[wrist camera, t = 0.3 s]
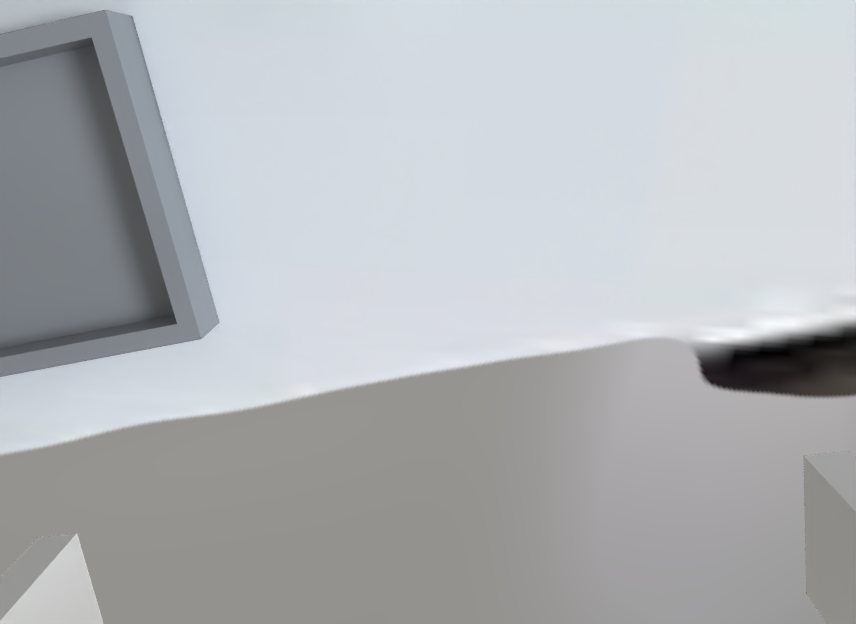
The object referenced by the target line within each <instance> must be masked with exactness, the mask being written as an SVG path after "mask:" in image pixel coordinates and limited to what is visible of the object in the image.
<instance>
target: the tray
mask: <svg viewBox="0 0 856 624" xmlns="http://www.w3.org/2000/svg"><path fill="white" fill-rule="evenodd" d="M218 323H219V320H218V316H217V313H216V309H215V306H214V302H213V299H212V295H211V292H210V288H209V285H208V281H207V278H206V274H205V270H204V267H203V263H202V260H201V256H200V253H199V249H198V246H197V242H196V239H195V235H194V232H193V228H192V225H191V221H190V218H189V214H188V211H187V207H186V204H185V200H184V196H183V193H182V189H181V186H180V182H179V179H178V175H177V172H176V168H175V165H174V161H173V158H172V154H171V151H170V147H169V144H168V140H167V137H166V133H165V130H164V126H163V122H162V119H161V115H160V112H159V108H158V105H157V101H156V98H155V94H154V91H153V87H152V84H151V80H150V77H149V73H148V70H147V66H146V63H145V59H144V56H143V52H142V48H141V45H140V41H139V38H138V34H137V31H136V27H135V24H134V20H133V17H132V16H129V15H125V14H121V13H117V12H113V11H108V10H102V11H98V12H94V13H90V14H85V15H81V16H77V17H72V18H68V19H64V20H60V21H55V22H51V23H47V24H43V25H38V26H34V27H30V28H25V29H21V30H17V31H13V32H8V33H4V34H0V377H2V376H8V375H13V374H18V373H24V372H29V371H34V370H39V369H45V368H50V367H55V366H61V365H66V364H71V363H77V362H82V361H87V360H93V359H98V358H103V357H109V356H114V355H119V354H125V353H130V352H135V351H140V350H146V349H151V348H156V347H162V346H167V345H172V344H178V343H183V342H188V341H194V340H199V339H202V338H203V337H204V336H205V335H206V334H207V333H209V332H210V331H211V330H212V329H213V328H214V327H215V326H216V325H217V324H218Z"/></svg>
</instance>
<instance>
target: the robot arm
mask: <svg viewBox="0 0 856 624" xmlns="http://www.w3.org/2000/svg"><path fill="white" fill-rule="evenodd" d="M804 506H805V559H806V560H805V561H806V594H807V596H808V597H809V598H810V600H811V601H812V603H813V604H814V606H815V607H816V609H817V610H818V612H819V613H820V615H821V616H822V618H823V619H824V621H825V622H826V624H856V456H855V455H854V454H852V453H851V452H850V451H842V452H833V453H824V454H814V455H805V456H804ZM0 624H103V621H102V617H101V614H100V610H99V607H98V603H97V600H96V597H95V593H94V590H93V587H92V583H91V580H90V576H89V573H88V569H87V566H86V563H85V559H84V556H83V552H82V550H81V546H80V542H79V539H78V535H77V533H75V534H65V535H56V536H47V537H38V538H37V539H36V540H35V541H34V542H33V543H32V544H31V545H30V546H29V547H28V548H27V549H26V550H25V551H24V552H23V553H22V554H21V556H20V557H19V558H18V559H17V560H16V561H15V562H14V563H13V564H12V565H11V566H10V567H9V568H8V569H7V570H6V571H5V572H4V573H3V574H2V575H1V576H0Z"/></svg>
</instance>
